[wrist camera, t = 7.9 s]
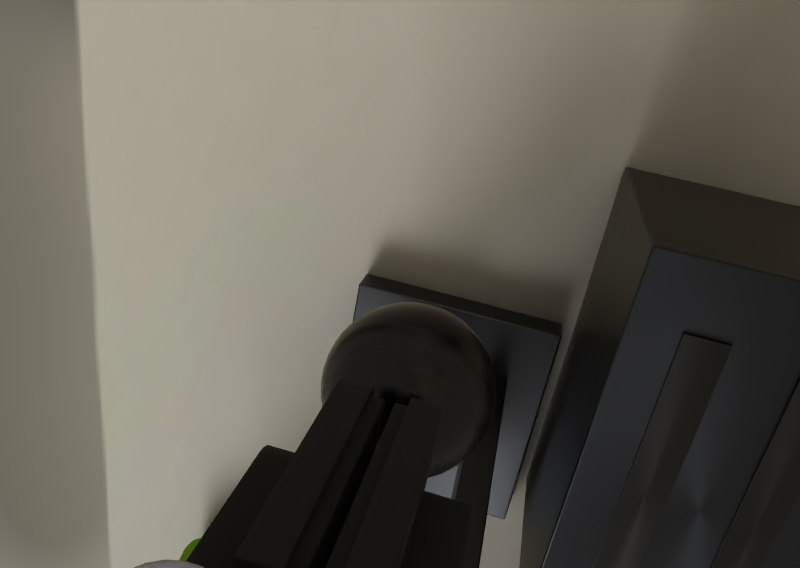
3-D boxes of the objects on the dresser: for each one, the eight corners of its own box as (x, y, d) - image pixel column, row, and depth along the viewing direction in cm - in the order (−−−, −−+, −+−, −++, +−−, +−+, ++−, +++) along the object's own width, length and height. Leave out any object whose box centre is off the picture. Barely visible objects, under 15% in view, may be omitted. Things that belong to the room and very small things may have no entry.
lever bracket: (366, 272, 29) (236, 453, 18) (561, 323, 28) (559, 549, 17) (334, 452, 33) (208, 700, 21) (506, 502, 32) (472, 791, 20)
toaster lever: (354, 248, 13) (291, 387, 11) (525, 291, 13) (493, 443, 11) (342, 534, 23) (306, 638, 21) (440, 564, 23) (414, 673, 21)
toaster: (625, 166, 26) (653, 246, 18) (828, 212, 25) (958, 320, 17) (526, 478, 31) (511, 651, 23) (690, 525, 31) (735, 722, 22)
